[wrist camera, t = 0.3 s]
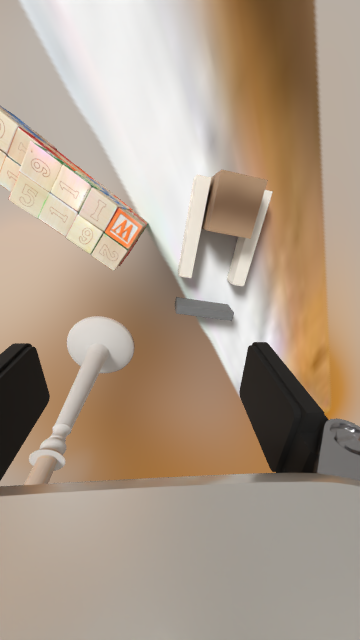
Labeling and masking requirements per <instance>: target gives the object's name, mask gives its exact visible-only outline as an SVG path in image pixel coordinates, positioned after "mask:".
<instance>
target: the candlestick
mask: <svg viewBox="0 0 360 640" xmlns="http://www.w3.org/2000/svg"><path fill="white" fill-rule="evenodd" d="M67 348H68V351H69V353H70V355H71V357H72V358H73V360H74V361H75V362H77V364H79V365H80V366H81V368H80V370H79V373H78V375H77V377H76V379H75V382H74V384H73V386H72V388H71V390H70V392H69V395H68V397H67V400H66V401H65V404H64V406H63V408H62V410H61V412H60V415H59V417H58V419H57V421H56V424H55V425H54V426H53V434H52V435H51V436H50V437H49V439H46V440H45V441H44V442H42V444H41V446H40V449H39V450H37V451H35V452H33V453H32V454H31V455H30V456H29V462H30V463H31V464H32V465H33V468H32V470H31V472H30V474H29V476H28V478H27V480H26V482H25V484H24V485H36V484H48V482H49V480H50V477H51V475H52V473H53V471H54V470H58V469H60V468H62V467H63V466H64V465H65V458H64V457H63V454H64V452H65V450H66V444H65V439H66V436H67V435H69V434H70V433H71V429H72V427H73V425H74V423H75V421H76V419H77V417H78V415H79V413H80V411H81V409H82V407H83V405H84V403H85V401H86V399H87V397H88V395H89V393H90V391H91V388H92V387H93V385H94V383H95V381H96V379H97V376H98V375H99V373H111V372H115V371H118V370H120V369H122V368H123V367H125V366H126V365H127V364H128V363H129V361H130V360H131V358H132V356H133V353H134V341H133V338H132V336H131V334H130V332H129V331H128V330H127V328H126V327H124V326H123V325H122V324H121V323H119V322H117V321H116V320H113V319H111V318H107V317H101V316H95V317H89V318H85V319H83V320H81V321H79V322H78V323H76V324H75V325H74V326H73V328H72V329H71V330H70V332H69V335H68V337H67Z"/></svg>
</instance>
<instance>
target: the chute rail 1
mask: <svg viewBox="0 0 360 640" xmlns="http://www.w3.org/2000/svg"><path fill="white" fill-rule="evenodd" d="M210 182H211V178H210V177H205V176H201V175H196V176H195V178H194V180H193V186H192V191H191V197H190V203H189V209H188V215H187V221H186V227H185V232H184V238H183V244H182V250H181V256H180V262H179V268H178V274H179V276H180V277H186V278H191V277H192V272H193V267H194V262H195V257H196V252H197V247H198V242H199V237H200V232H201V227H202V222H203V217H204V212H205V207H206V202H207V197H208V192H209V187H210Z"/></svg>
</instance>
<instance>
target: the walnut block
mask: <svg viewBox="0 0 360 640" xmlns="http://www.w3.org/2000/svg"><path fill="white" fill-rule="evenodd" d="M267 181H268V180H265V179H260V178H256V177H252V176H247V175H243V174H239V173H234V172H230V171H226V170H221V171H219V172H218V173H217V174H215V175H214V176H213V177H212V178H211V182H210V187H209V192H208V197H207V202H206V207H205V212H204V217H203V222H202V227H201V229H204V230H207V231H212V232H217V233H222V234H227V235H233V236H238V237H243V238H249V239H251V236H252V232H253V229H254V225H255V222H256V219H257V215H258V212H259V208H260V205H261V201H262V198H263V195H264V191H265V188H266V184H267Z"/></svg>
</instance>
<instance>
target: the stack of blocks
mask: <svg viewBox="0 0 360 640" xmlns="http://www.w3.org/2000/svg"><path fill="white" fill-rule="evenodd" d="M0 185H1V186H3V187H4V188H6V189H7V190H9V191H10V192H11V194H10V196H9V200H10V201H11V202H13V203H14V204H16V205H17V206H19V207H20V208H22V209H23V210H25V211H26V212H28V213H29V214H31V215H32V216H34V217H35V218H38V219H40V220H41V221H43V222H44V223H45V224H47V225H49V226H50V227H51V228H53V229H55V230H56V231H58V232H59V233H60V234H62V235H64V236H65V237H66V238H67V239H68V240H69V241H71V242H72V243H74V244H75V245H77V246H78V247H80V248H81V249H83V250H84V251H86V252H87V253H89V254H91V255H92V256H93V257H94V258H95V259H97V260H98V261H100V262H101V263H103V264H104V265H106V266H107V267H108V268H110V269H111V270H113V271H114V270H115V269H116V268H117V267H118V266H120V265H121V264H122V262H123V261H124V259H125V258H126V257H127V256H128V254H129V253H130V251H131V250H132V248H133V247H134V245H135V244H136V242H137V241H138V238H139V237H140V235H141V234H142V232H143V231H144V229H145V228H146V226H147V225H148V223H147V222H146V221H145V220H144V219H143V218H141V217H140V216H139V215H138V214H136V213H135V212H134V211H133V210H132V209H131V208H130V207H129V206H127V205H126V204H125V203H124V202H122V201H121V200H120V199H119V198H118V197H116V196H115V195H114V194H113V193H111V192H110V191H109V190H108V189H106V188H105V187H104V186H103V185H102V184H100V183H99V182H97V181H96V180H94V179H93V178H92V177H90V176H89V175H88V174H87V173H85V172H84V171H83V170H82V169H80V168H79V167H78V166H76V165H75V164H73V163H72V162H71V161H69V160H68V159H67V158H66V157H65V156H64V155H62V154H61V153H60V152H58V151H57V149H56V148H55V147H54V146H53V145H51V144H50V143H49V142H48V141H46V140H45V139H44V138H43V137H41V136H40V135H39V134H38V133H37V132H35V131H34V130H32V129H31V128H30V127H28V126H27V125H26V124H25V123H23V122H22V121H21V120H20V119H18V118H17V117H16V116H15V115H13V114H12V113H10V112H9V111H7V110H6V109H4V108H3V107H1V106H0Z"/></svg>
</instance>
